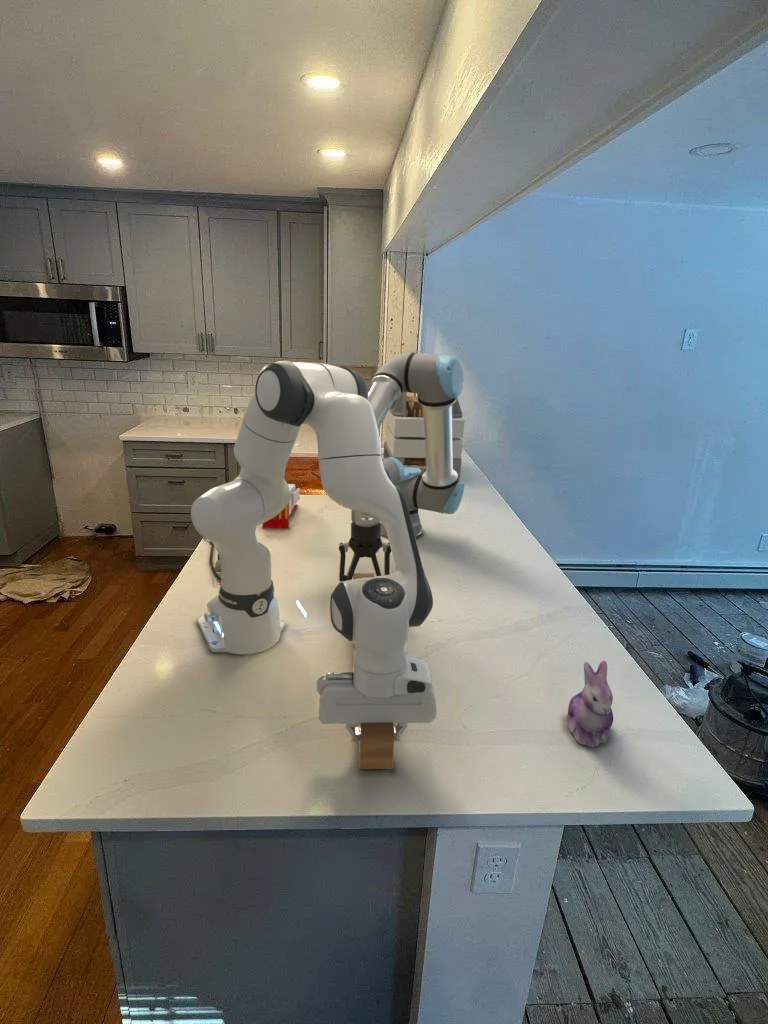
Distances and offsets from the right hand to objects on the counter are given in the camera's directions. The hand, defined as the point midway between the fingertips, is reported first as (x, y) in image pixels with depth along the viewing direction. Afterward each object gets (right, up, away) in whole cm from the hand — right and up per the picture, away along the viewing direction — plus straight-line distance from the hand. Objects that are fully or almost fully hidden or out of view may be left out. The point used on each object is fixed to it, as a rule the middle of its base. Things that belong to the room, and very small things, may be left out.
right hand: (363, 603), depth 149 cm
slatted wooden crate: (+23, +43, +126) cm, 135 cm away
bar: (+2, -9, -24) cm, 26 cm away
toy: (-33, +23, +63) cm, 75 cm away
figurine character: (-39, +7, +19) cm, 44 cm away
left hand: (+4, -16, -49) cm, 52 cm away
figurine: (+45, -18, -40) cm, 63 cm away
